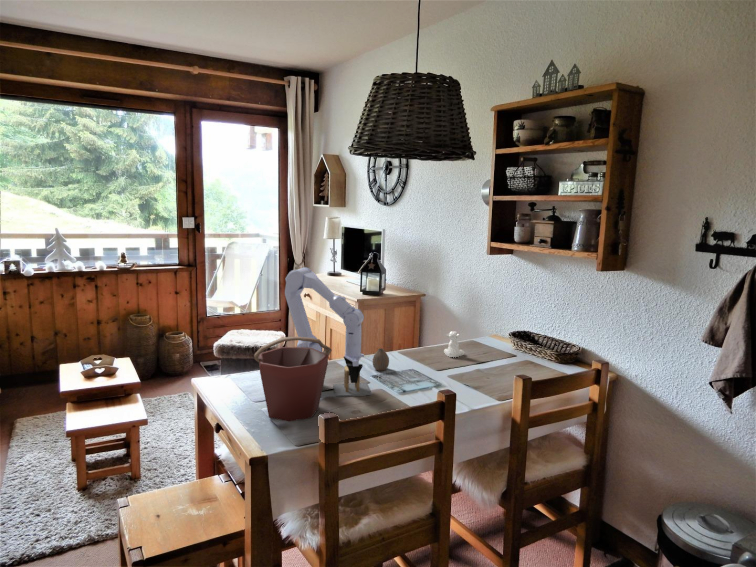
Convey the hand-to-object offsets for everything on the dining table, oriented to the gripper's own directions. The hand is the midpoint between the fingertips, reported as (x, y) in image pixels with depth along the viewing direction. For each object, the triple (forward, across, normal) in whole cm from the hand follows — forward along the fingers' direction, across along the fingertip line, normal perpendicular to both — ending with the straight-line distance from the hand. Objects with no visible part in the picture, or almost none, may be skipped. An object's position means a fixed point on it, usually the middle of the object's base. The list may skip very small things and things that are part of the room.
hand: (352, 378), depth 187 cm
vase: (+5, +22, -15) cm, 27 cm away
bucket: (+5, -16, +22) cm, 28 cm away
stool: (+4, 0, 0) cm, 4 cm away
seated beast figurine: (+5, +37, -52) cm, 64 cm away
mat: (+4, 0, 0) cm, 4 cm away
